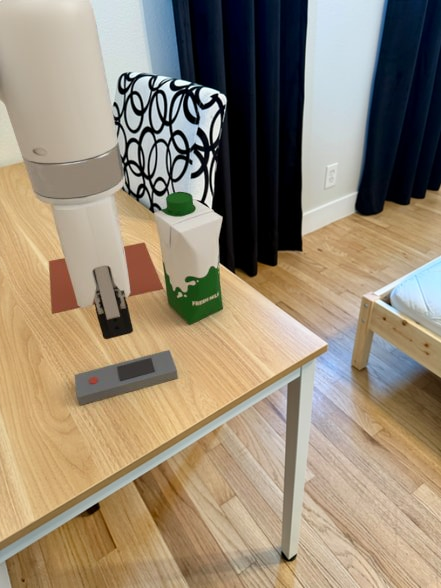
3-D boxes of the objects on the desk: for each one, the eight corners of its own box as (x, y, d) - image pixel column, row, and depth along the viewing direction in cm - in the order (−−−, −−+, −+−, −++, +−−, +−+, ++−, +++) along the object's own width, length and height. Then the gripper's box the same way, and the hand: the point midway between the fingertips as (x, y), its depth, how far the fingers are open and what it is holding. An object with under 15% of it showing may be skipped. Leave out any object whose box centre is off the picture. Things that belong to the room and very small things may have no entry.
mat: (52, 314, 75) (51, 313, 75) (49, 261, 89) (49, 261, 89) (163, 289, 80) (163, 288, 80) (144, 242, 94) (144, 242, 93)
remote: (79, 406, 59) (76, 396, 58) (77, 382, 62) (74, 373, 61) (178, 378, 63) (176, 369, 61) (170, 357, 66) (169, 348, 65)
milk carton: (201, 285, 80) (195, 184, 68) (230, 310, 74) (229, 204, 62) (161, 303, 76) (146, 199, 64) (188, 331, 70) (177, 222, 58)
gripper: (29, 147, 40) (77, 299, 52) (28, 217, 29) (89, 392, 40) (109, 136, 42) (139, 285, 53) (138, 197, 31) (167, 370, 42)
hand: (117, 331), depth 47 cm, fingers closed
